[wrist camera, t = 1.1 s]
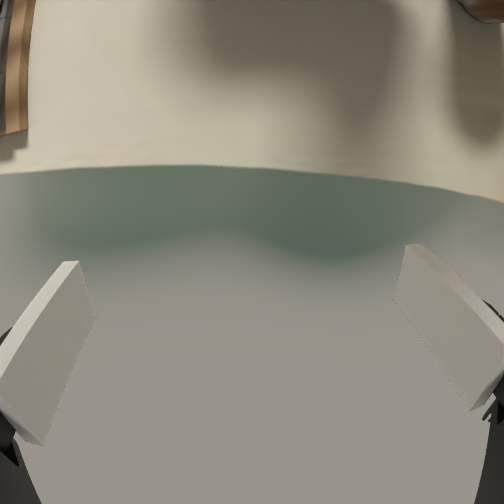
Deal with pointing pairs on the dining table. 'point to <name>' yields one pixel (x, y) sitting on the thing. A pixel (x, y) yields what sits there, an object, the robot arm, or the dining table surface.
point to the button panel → (14, 63)
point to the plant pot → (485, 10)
